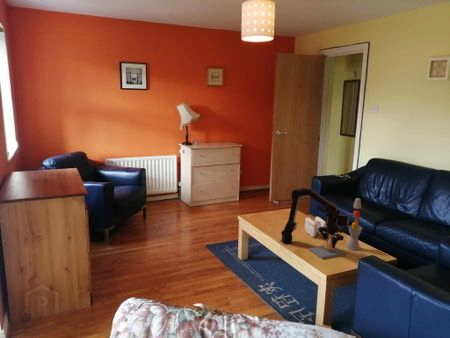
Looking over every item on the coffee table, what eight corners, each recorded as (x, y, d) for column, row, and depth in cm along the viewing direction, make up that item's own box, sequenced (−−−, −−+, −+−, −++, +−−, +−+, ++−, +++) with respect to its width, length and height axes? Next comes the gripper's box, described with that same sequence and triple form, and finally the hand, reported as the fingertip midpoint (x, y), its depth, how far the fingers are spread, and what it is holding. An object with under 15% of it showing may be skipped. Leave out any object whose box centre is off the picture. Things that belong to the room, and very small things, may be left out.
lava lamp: (349, 244, 246) (353, 196, 239) (362, 247, 240) (367, 198, 233) (344, 248, 239) (348, 198, 232) (357, 252, 233) (362, 201, 227)
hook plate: (322, 259, 222) (323, 245, 220) (309, 250, 235) (309, 237, 233) (344, 255, 229) (346, 241, 227) (331, 246, 241) (332, 234, 239)
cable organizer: (325, 237, 257) (327, 222, 255) (312, 238, 255) (313, 223, 253) (316, 230, 272) (317, 215, 269) (303, 231, 269) (304, 216, 267)
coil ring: (328, 249, 227) (329, 244, 226) (321, 245, 234) (322, 240, 233) (337, 248, 230) (337, 242, 229) (330, 244, 236) (331, 238, 235)
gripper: (351, 226, 223) (349, 249, 226) (332, 217, 240) (330, 238, 243) (337, 228, 219) (335, 252, 222) (318, 219, 236) (317, 240, 239)
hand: (329, 245), depth 231 cm, fingers closed on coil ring, 7 cm apart
